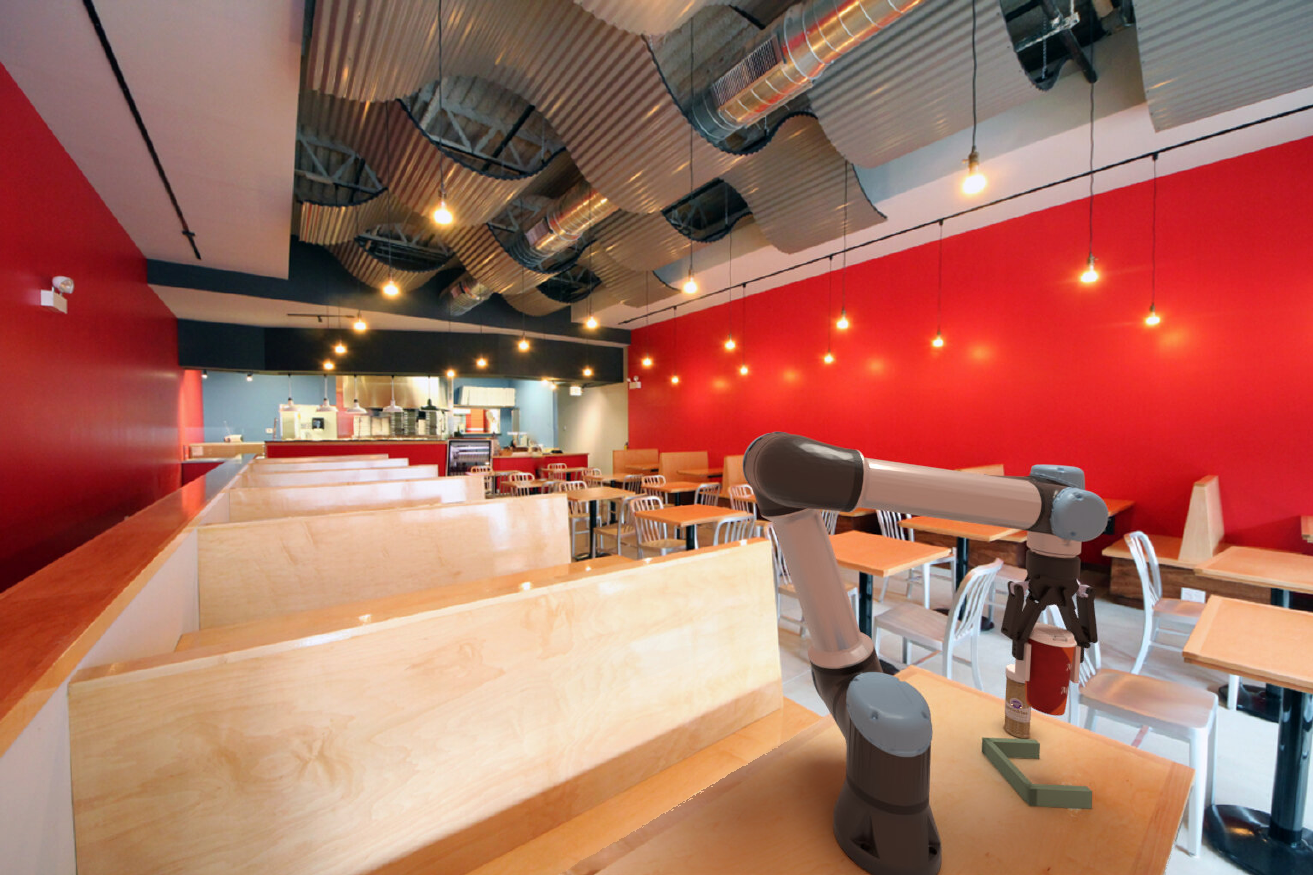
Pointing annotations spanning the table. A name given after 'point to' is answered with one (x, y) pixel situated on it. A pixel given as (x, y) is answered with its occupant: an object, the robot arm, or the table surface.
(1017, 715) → the sprinkles bottle
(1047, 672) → the paper cup
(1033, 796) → the green pocket
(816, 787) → the table surface
